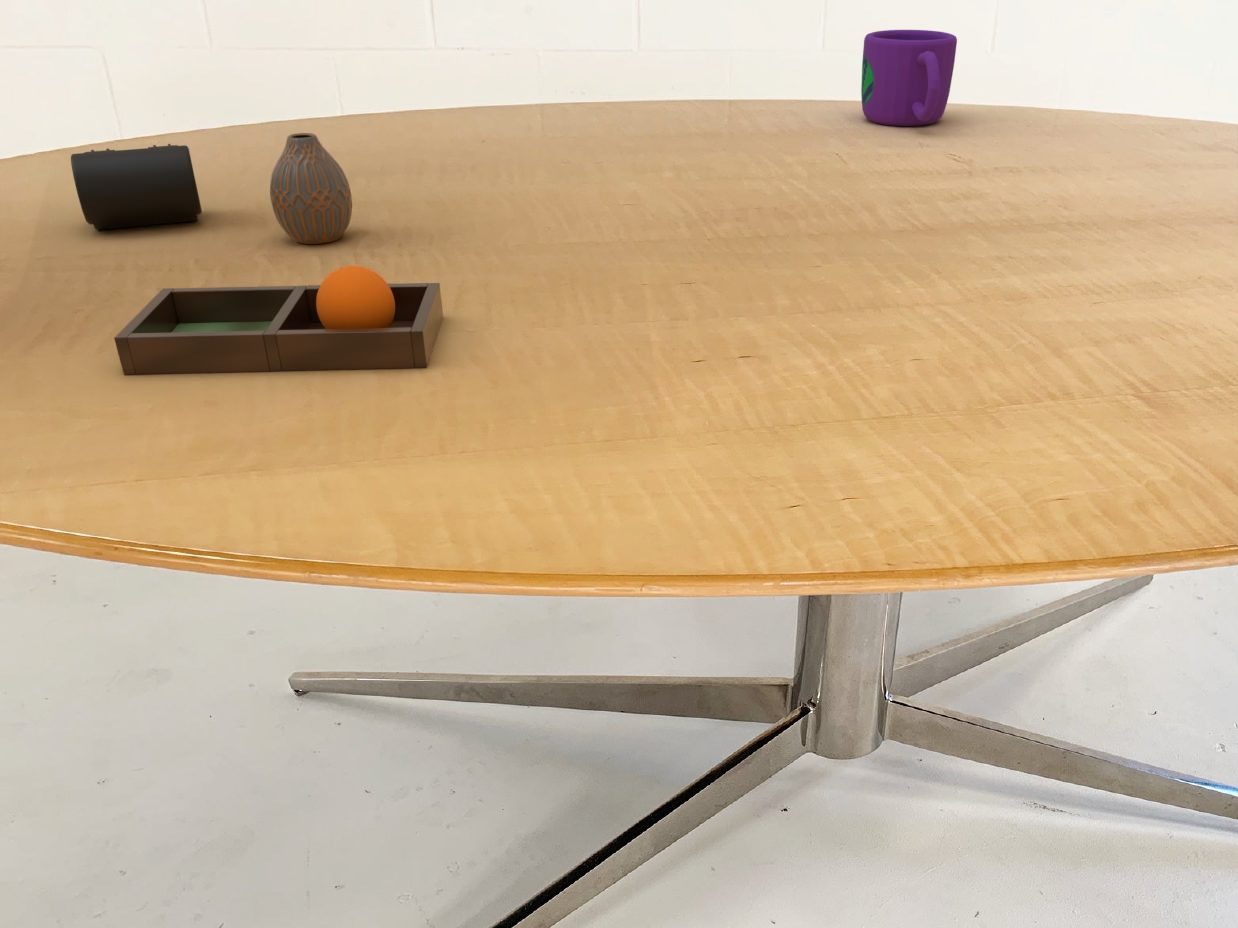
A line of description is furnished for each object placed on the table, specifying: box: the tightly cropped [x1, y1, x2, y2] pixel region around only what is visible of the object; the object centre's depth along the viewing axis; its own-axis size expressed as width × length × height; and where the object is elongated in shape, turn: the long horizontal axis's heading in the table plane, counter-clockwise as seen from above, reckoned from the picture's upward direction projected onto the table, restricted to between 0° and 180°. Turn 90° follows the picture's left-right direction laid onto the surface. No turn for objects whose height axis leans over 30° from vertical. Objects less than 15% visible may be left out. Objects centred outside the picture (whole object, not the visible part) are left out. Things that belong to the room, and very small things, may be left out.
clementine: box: [316, 265, 395, 329], centre depth 79 cm, size 5×5×5 cm
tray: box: [114, 282, 444, 377], centre depth 80 cm, size 20×10×3 cm, turn 93°
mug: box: [860, 29, 958, 127], centre depth 145 cm, size 17×11×10 cm, turn 6°
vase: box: [269, 132, 353, 245], centre depth 103 cm, size 7×7×9 cm
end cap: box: [70, 143, 203, 231], centre depth 108 cm, size 10×7×7 cm
